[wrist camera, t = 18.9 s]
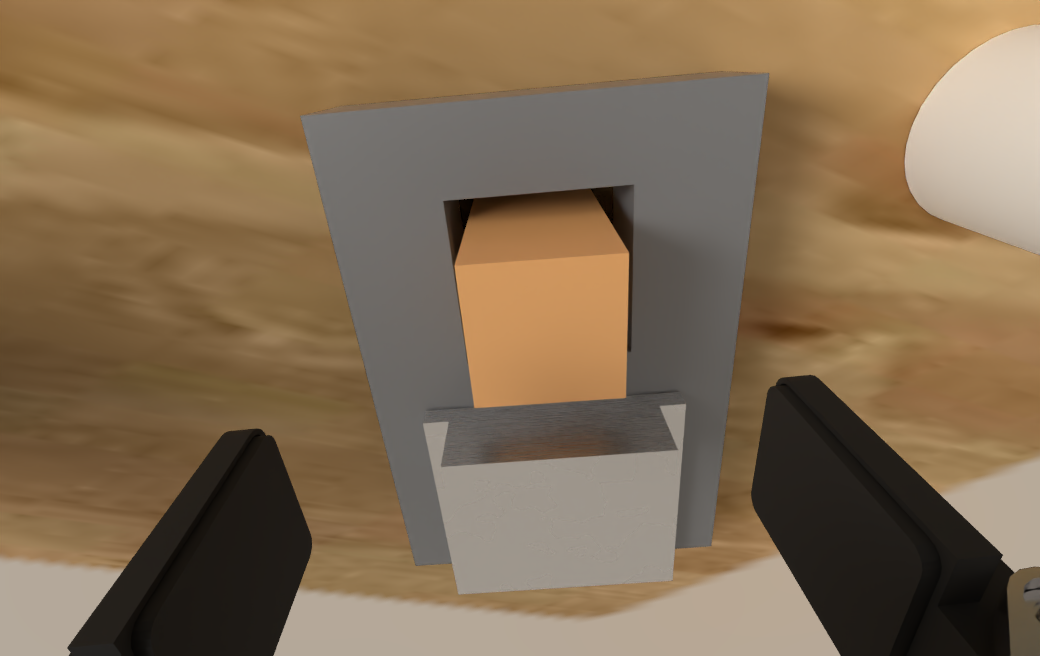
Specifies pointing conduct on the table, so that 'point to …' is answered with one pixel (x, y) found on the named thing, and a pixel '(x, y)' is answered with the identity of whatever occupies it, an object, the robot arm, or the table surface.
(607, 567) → the panel
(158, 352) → the table surface
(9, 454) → the table surface
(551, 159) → the socket block
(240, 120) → the table surface
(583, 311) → the plug peg
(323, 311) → the table surface
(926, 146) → the cylindrical container
